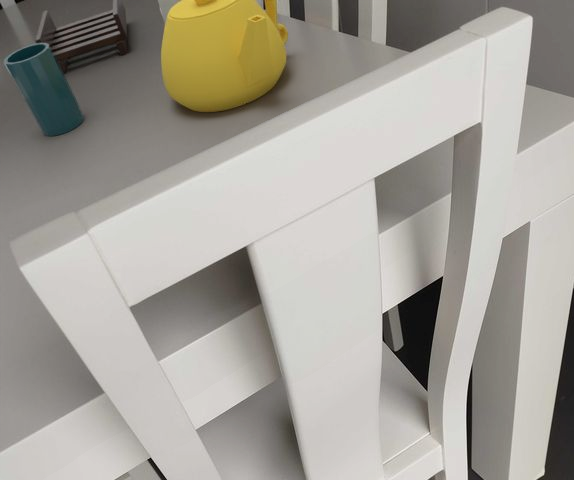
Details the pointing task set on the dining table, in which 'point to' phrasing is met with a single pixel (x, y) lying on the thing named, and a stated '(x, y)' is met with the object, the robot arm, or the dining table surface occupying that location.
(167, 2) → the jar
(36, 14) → the dining table surface
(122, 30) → the rack
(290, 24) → the dining table surface
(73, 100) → the cup
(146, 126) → the dining table surface
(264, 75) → the teapot
